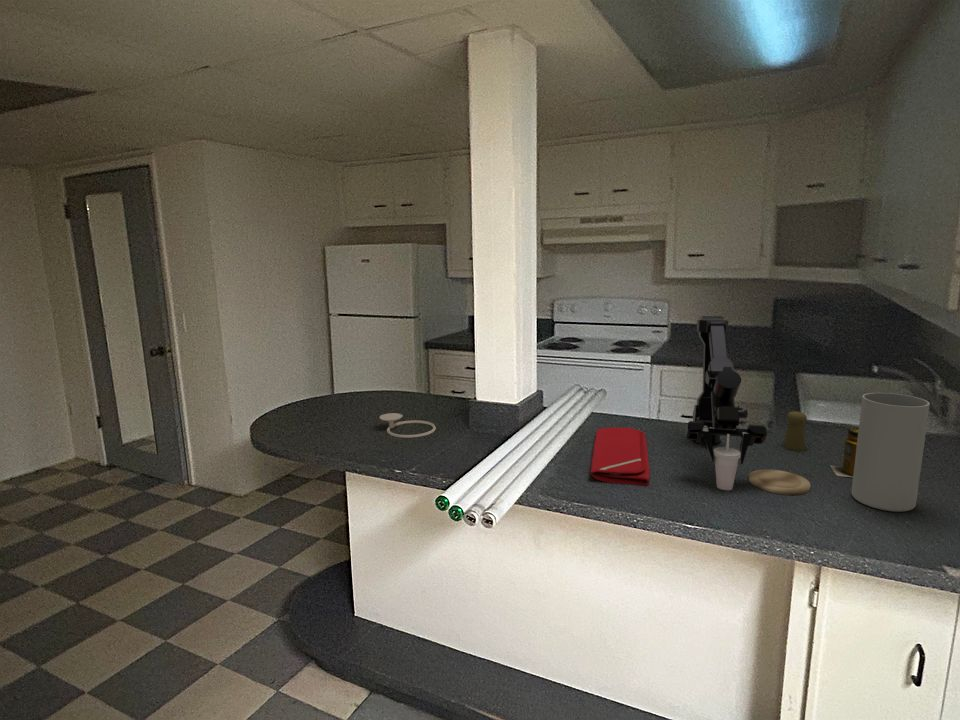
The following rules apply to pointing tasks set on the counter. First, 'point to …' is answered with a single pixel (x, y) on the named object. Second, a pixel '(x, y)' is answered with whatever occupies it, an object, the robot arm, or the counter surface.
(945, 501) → the counter surface
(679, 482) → the counter surface
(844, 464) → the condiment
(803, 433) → the cork
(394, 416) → the hand towel holder
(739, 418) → the robot arm
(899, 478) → the cylinder vase
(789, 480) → the plate
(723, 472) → the smoothie
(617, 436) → the dish drying mat
